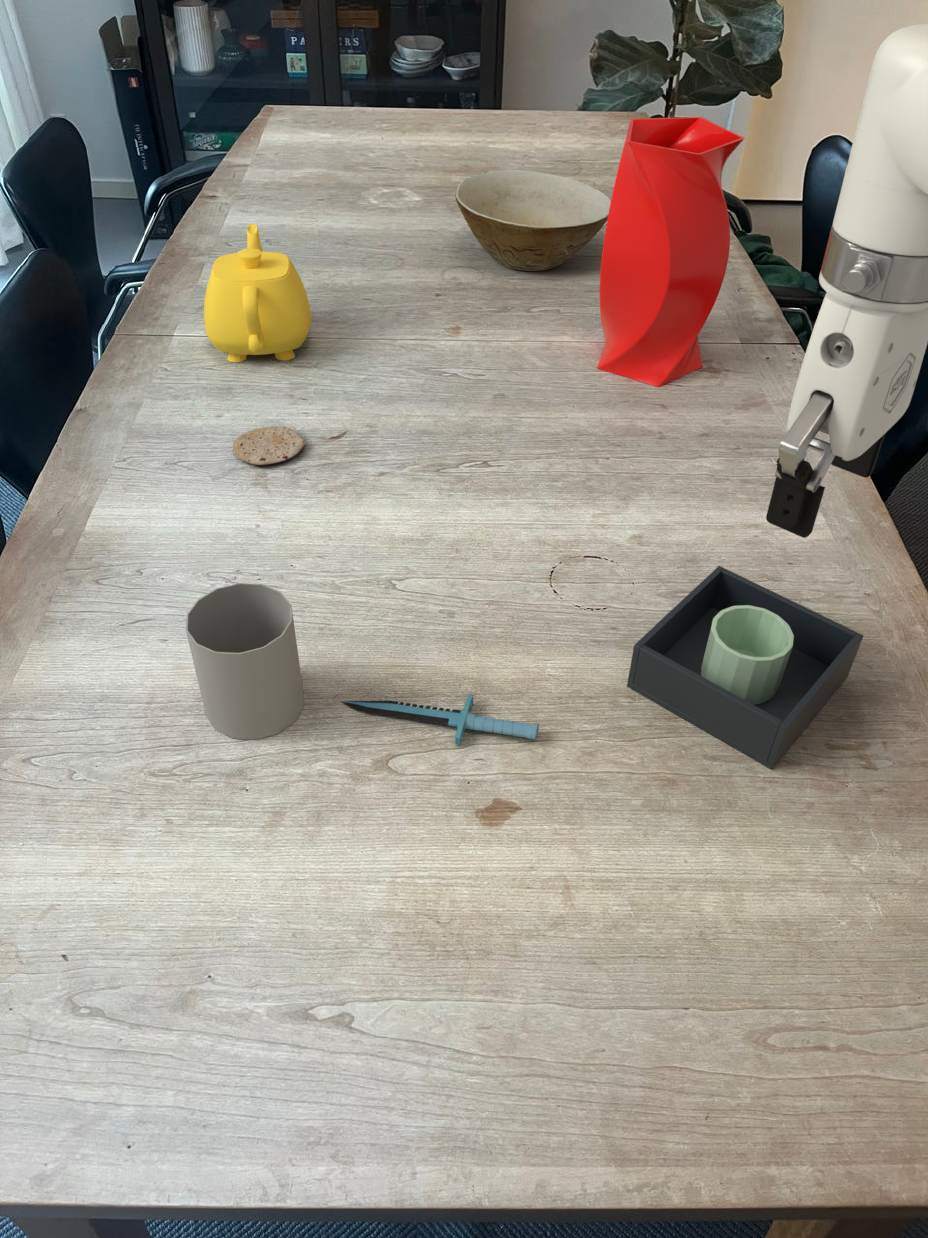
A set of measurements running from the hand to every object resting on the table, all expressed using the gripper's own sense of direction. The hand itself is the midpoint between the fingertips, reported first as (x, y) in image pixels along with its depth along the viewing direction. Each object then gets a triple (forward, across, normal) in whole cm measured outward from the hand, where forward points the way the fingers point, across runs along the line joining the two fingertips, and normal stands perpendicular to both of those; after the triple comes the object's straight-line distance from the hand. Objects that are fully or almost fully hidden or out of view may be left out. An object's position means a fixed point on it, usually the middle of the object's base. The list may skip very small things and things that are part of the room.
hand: (819, 497), depth 72 cm
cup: (+22, -28, +33) cm, 49 cm away
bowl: (+20, +62, +73) cm, 98 cm away
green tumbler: (+21, +2, +3) cm, 22 cm away
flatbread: (+21, -2, +62) cm, 65 cm away
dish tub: (+22, +2, +3) cm, 22 cm away
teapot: (+21, +16, +83) cm, 87 cm away
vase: (+21, +47, +41) cm, 66 cm away
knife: (+22, -19, +20) cm, 35 cm away
